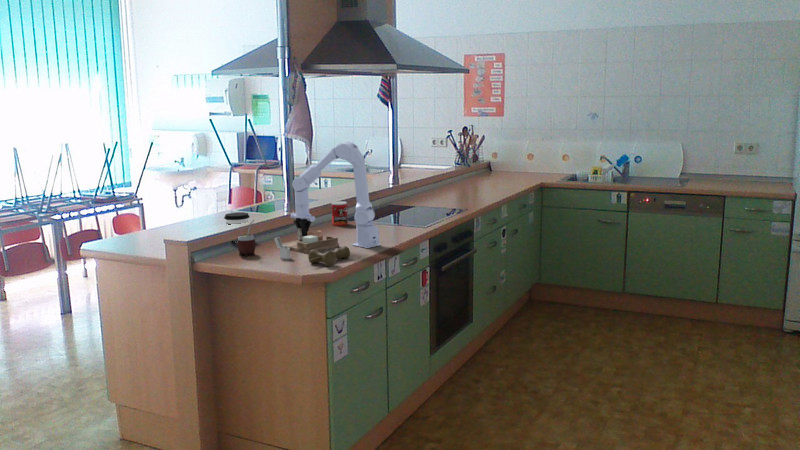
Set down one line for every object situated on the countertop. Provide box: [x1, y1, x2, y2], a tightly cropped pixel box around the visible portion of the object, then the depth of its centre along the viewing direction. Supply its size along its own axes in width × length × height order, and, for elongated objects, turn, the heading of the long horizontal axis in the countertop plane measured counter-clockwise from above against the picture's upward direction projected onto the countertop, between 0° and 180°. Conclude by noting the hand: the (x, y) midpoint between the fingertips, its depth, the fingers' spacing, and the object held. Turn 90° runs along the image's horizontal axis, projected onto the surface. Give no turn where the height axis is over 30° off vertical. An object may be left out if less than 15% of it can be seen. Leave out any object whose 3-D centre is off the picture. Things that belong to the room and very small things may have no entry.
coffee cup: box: [223, 211, 250, 225], centre depth 304 cm, size 11×11×12 cm
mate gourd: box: [236, 219, 256, 258], centre depth 276 cm, size 8×8×15 cm
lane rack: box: [281, 235, 340, 254], centre depth 291 cm, size 19×17×4 cm
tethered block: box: [296, 227, 324, 241], centre depth 296 cm, size 11×5×5 cm, turn 46°
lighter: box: [273, 236, 291, 260], centre depth 271 cm, size 7×2×8 cm, turn 52°
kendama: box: [308, 245, 351, 267], centre depth 262 cm, size 6×10×20 cm
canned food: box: [331, 200, 349, 227], centre depth 340 cm, size 8×8×11 cm
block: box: [302, 235, 318, 244], centre depth 284 cm, size 4×4×4 cm
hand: (303, 236), depth 299 cm, fingers closed on tethered block, 2 cm apart
